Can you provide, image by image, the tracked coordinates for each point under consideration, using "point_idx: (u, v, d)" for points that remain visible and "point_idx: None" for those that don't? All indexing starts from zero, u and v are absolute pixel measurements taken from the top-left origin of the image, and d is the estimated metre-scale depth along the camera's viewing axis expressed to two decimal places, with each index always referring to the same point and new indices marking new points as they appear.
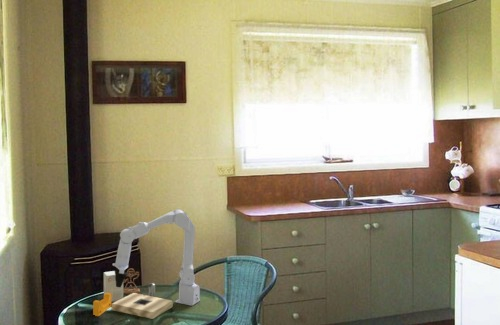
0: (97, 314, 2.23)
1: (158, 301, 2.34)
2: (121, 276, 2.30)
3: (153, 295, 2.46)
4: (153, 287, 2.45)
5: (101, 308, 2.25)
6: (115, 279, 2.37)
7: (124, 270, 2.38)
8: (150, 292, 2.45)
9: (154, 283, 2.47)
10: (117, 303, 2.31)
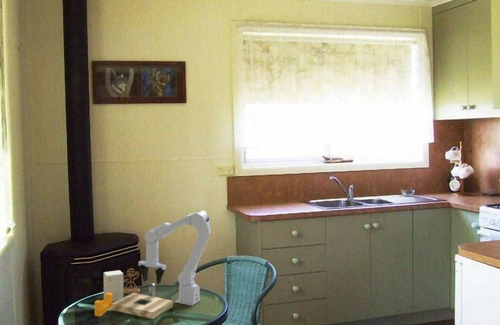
0: (99, 314, 2.23)
1: (158, 301, 2.34)
2: (160, 272, 2.44)
3: (153, 295, 2.46)
4: (153, 287, 2.45)
5: (102, 308, 2.25)
6: (144, 279, 2.46)
7: None
8: (150, 292, 2.45)
9: (154, 283, 2.47)
10: (117, 303, 2.31)
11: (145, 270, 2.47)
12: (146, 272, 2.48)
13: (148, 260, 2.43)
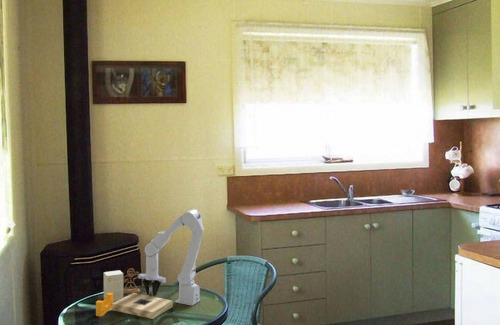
0: (100, 314, 2.23)
1: (158, 301, 2.34)
2: (156, 285, 2.46)
3: None
4: None
5: (104, 308, 2.25)
6: (147, 293, 2.46)
7: (151, 281, 2.49)
8: (150, 292, 2.45)
9: None
10: (117, 303, 2.31)
11: (148, 283, 2.47)
12: None
13: (148, 273, 2.43)
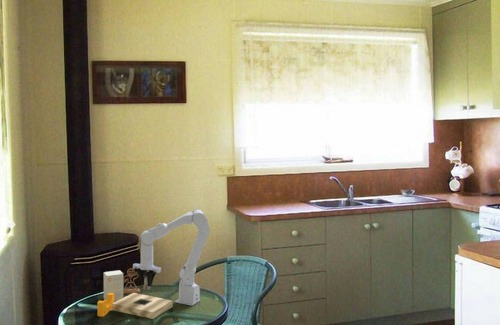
0: (101, 314, 2.23)
1: (158, 301, 2.34)
2: None
3: None
4: None
5: (105, 308, 2.25)
6: (142, 283, 2.38)
7: (146, 271, 2.40)
8: (145, 283, 2.37)
9: None
10: (117, 303, 2.31)
11: (143, 274, 2.38)
12: None
13: (142, 263, 2.35)
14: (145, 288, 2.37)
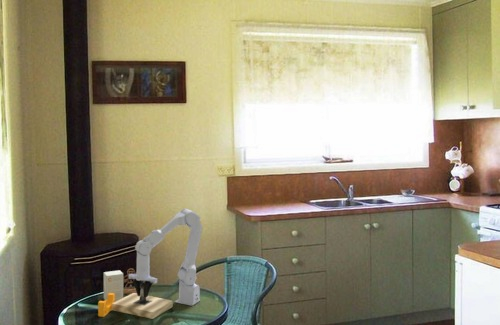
0: (102, 315, 2.23)
1: (158, 301, 2.34)
2: (147, 285, 2.32)
3: (144, 297, 2.32)
4: None
5: (106, 308, 2.25)
6: (138, 294, 2.32)
7: (142, 282, 2.35)
8: (141, 293, 2.32)
9: None
10: (117, 303, 2.31)
11: (139, 284, 2.33)
12: None
13: (138, 273, 2.29)
14: (141, 299, 2.32)
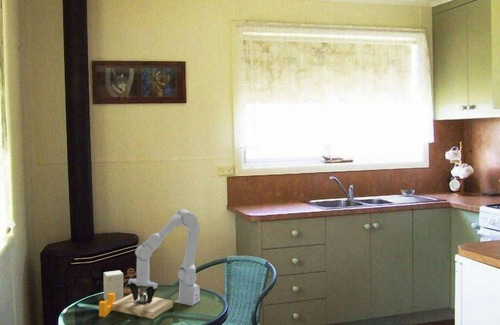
0: (103, 315, 2.23)
1: (158, 301, 2.34)
2: (151, 291, 2.31)
3: None
4: (144, 297, 2.32)
5: (107, 308, 2.25)
6: (134, 298, 2.33)
7: (138, 286, 2.36)
8: (141, 302, 2.32)
9: (145, 292, 2.34)
10: (117, 303, 2.31)
11: (135, 288, 2.34)
12: (137, 290, 2.35)
13: (138, 278, 2.30)
14: None
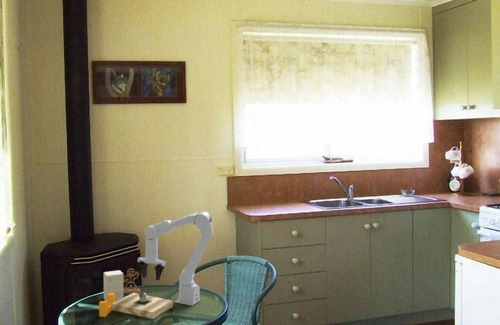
0: (103, 315, 2.23)
1: (158, 301, 2.34)
2: (159, 269, 2.42)
3: None
4: (144, 297, 2.32)
5: (107, 309, 2.25)
6: (143, 276, 2.44)
7: (147, 265, 2.47)
8: (141, 302, 2.32)
9: (145, 292, 2.34)
10: (117, 303, 2.31)
11: (144, 267, 2.44)
12: (145, 269, 2.45)
13: (147, 256, 2.40)
14: None
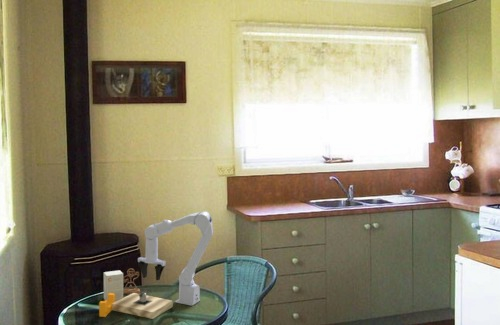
0: (103, 315, 2.23)
1: (158, 301, 2.34)
2: (159, 269, 2.42)
3: None
4: (144, 297, 2.32)
5: (107, 309, 2.25)
6: (143, 276, 2.44)
7: (147, 264, 2.47)
8: (141, 302, 2.32)
9: (145, 292, 2.34)
10: (117, 303, 2.31)
11: (144, 266, 2.45)
12: (145, 268, 2.46)
13: (147, 256, 2.40)
14: None
